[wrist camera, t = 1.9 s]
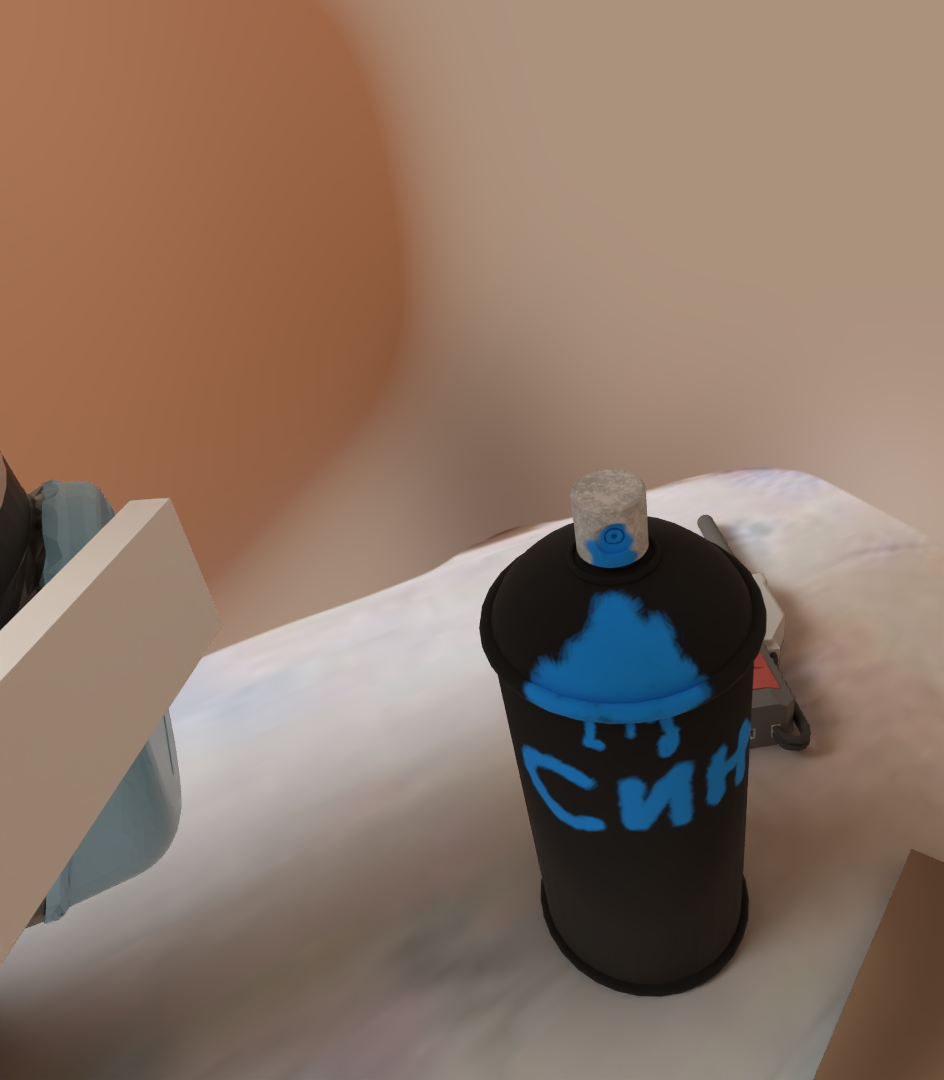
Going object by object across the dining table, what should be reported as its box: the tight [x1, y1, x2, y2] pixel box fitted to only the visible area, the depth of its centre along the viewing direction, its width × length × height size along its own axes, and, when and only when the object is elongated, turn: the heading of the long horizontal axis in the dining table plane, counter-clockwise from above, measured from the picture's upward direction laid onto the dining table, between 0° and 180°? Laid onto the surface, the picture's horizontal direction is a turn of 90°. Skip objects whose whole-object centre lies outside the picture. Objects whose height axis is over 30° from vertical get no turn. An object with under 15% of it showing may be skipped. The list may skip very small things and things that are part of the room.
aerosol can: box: [479, 470, 767, 996], centre depth 27 cm, size 8×8×20 cm
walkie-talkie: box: [697, 515, 811, 751], centre depth 45 cm, size 9×4×20 cm
